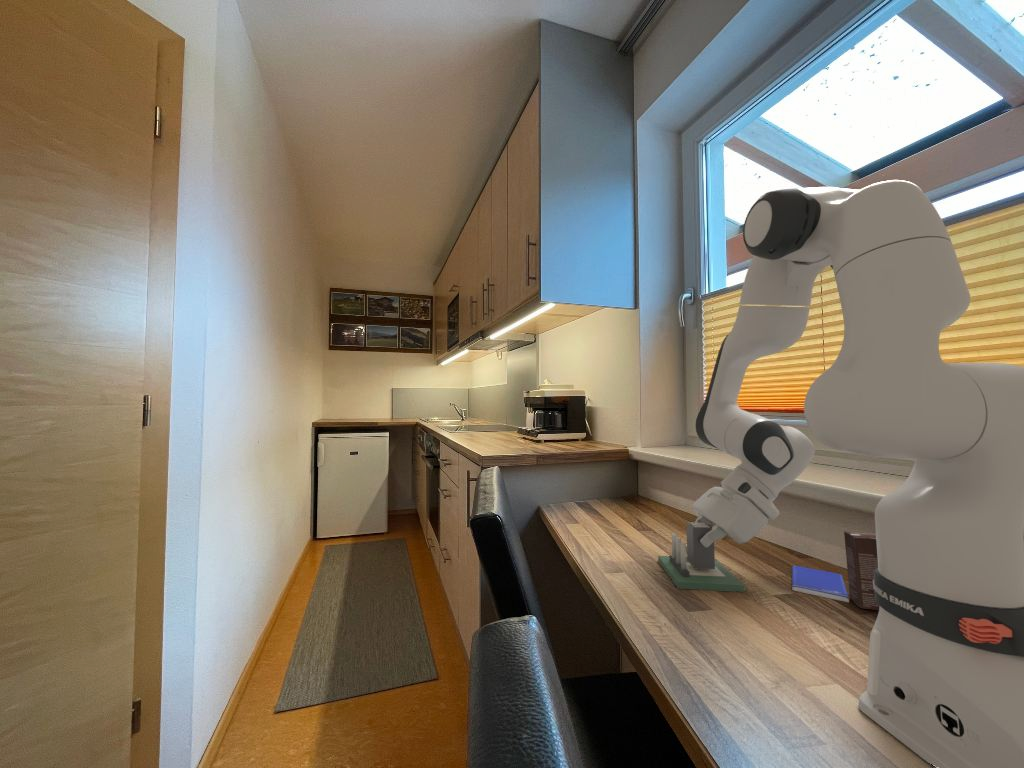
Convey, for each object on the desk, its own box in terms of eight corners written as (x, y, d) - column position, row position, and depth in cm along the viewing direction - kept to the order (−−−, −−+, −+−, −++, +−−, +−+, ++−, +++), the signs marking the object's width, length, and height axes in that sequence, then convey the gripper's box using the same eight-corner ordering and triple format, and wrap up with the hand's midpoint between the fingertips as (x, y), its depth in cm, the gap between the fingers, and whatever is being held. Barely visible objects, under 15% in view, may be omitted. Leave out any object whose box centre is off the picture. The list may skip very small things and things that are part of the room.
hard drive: (848, 596, 69) (841, 574, 79) (792, 584, 74) (792, 564, 84) (849, 605, 69) (842, 582, 79) (792, 593, 74) (792, 572, 84)
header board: (744, 591, 73) (743, 552, 74) (677, 588, 74) (676, 549, 75) (714, 563, 87) (713, 530, 87) (658, 561, 88) (657, 528, 89)
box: (888, 603, 69) (884, 533, 70) (904, 615, 65) (899, 540, 66) (846, 597, 71) (842, 529, 72) (859, 609, 67) (854, 536, 68)
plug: (714, 569, 78) (713, 527, 79) (694, 568, 79) (693, 527, 79) (707, 561, 82) (705, 522, 83) (687, 560, 83) (686, 521, 83)
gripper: (712, 474, 92) (670, 515, 92) (758, 490, 71) (703, 543, 71) (733, 493, 91) (690, 535, 91) (785, 516, 70) (730, 570, 71)
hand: (696, 539), depth 81 cm, fingers open, 4 cm apart
